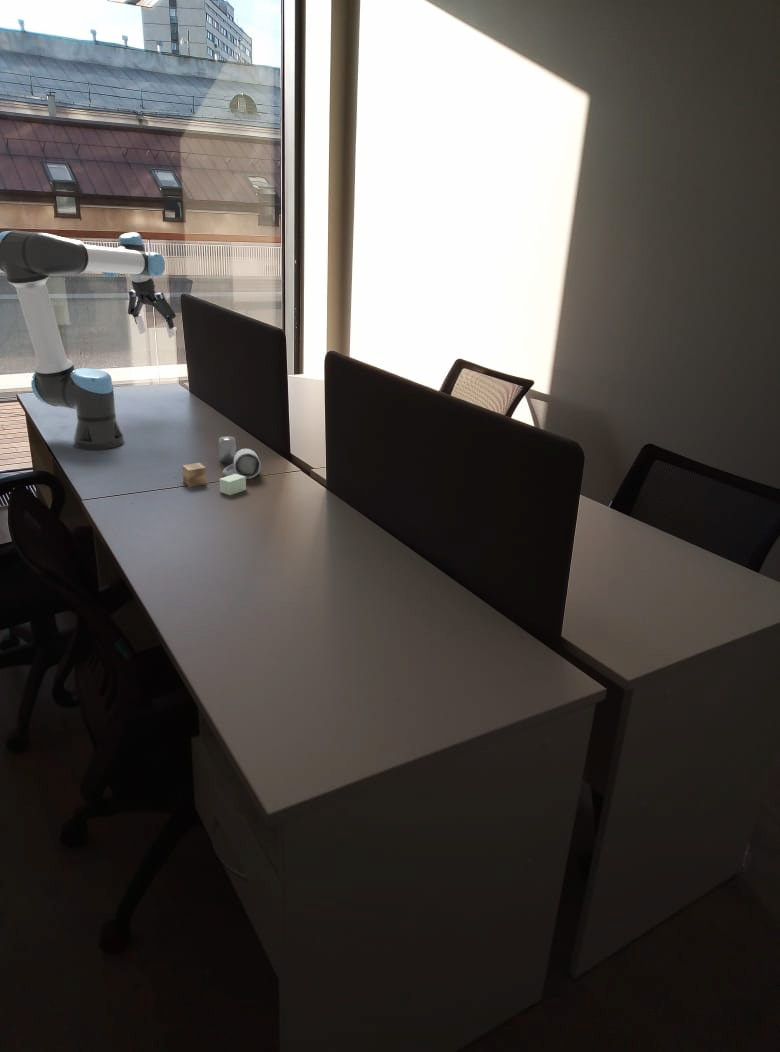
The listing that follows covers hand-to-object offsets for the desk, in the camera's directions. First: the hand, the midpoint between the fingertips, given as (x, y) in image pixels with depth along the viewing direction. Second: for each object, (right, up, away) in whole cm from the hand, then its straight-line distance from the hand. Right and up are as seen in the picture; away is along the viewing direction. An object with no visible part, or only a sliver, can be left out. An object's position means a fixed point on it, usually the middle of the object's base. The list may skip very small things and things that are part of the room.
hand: (157, 334), depth 286 cm
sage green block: (+43, -62, -72) cm, 104 cm away
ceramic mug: (+43, -57, -60) cm, 93 cm away
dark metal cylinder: (+36, -51, -48) cm, 79 cm away
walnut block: (+31, -59, -68) cm, 95 cm away
